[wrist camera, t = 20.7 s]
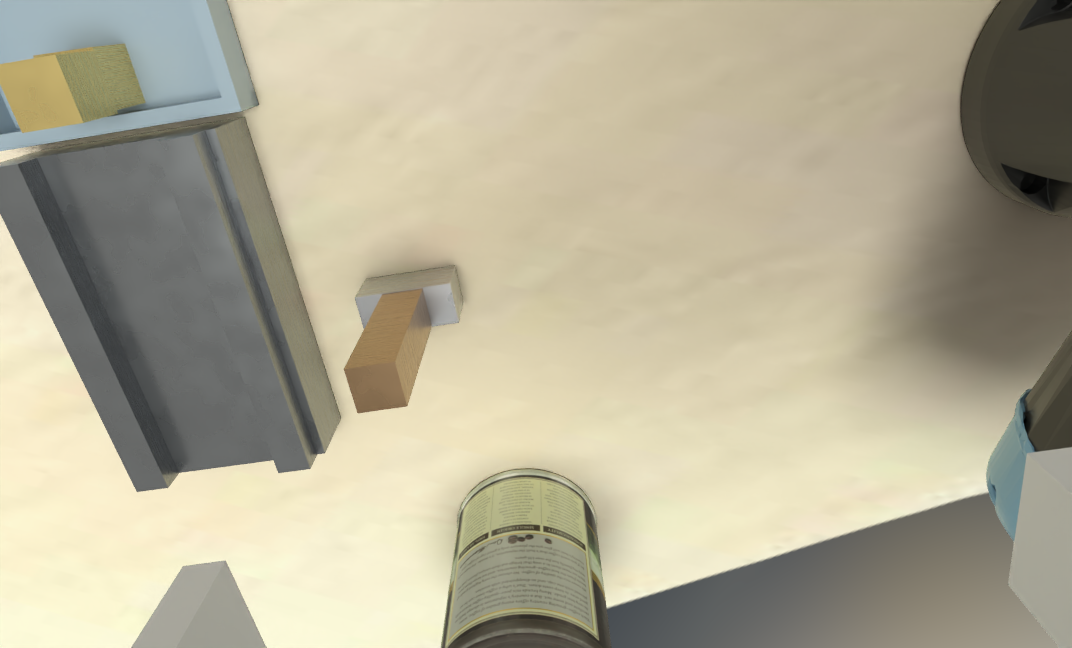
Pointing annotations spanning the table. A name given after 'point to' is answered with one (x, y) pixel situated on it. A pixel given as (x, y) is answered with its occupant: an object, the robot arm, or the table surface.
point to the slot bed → (174, 298)
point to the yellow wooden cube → (115, 73)
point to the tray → (133, 58)
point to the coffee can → (526, 567)
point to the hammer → (398, 333)
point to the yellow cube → (56, 90)
